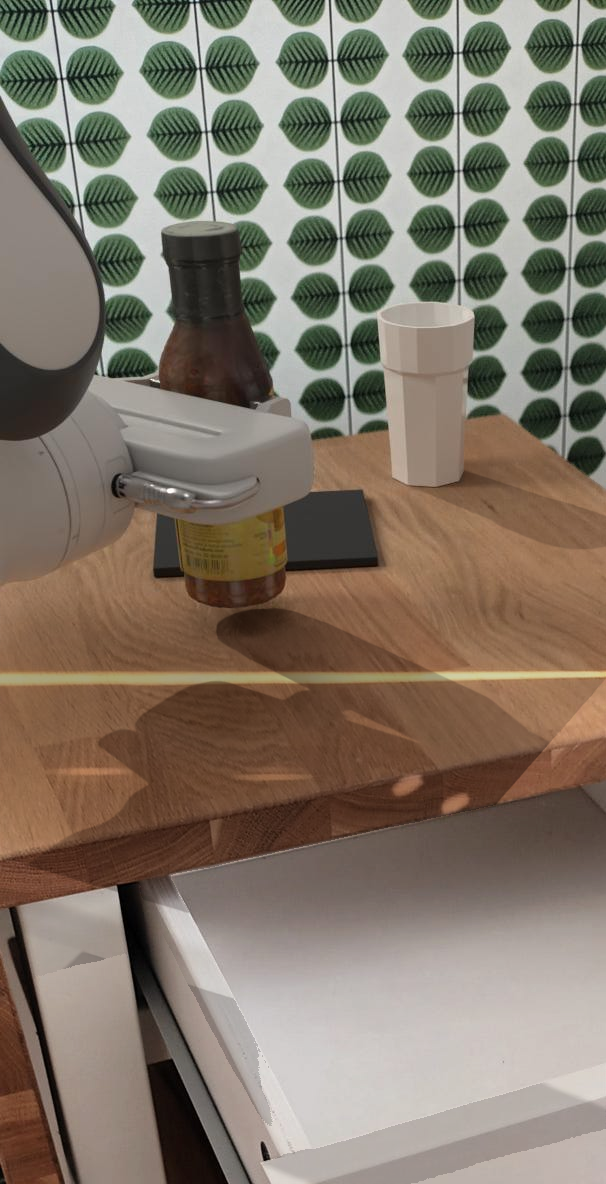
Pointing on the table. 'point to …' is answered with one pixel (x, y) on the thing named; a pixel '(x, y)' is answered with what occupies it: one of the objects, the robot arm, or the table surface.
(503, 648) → the table surface
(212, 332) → the sauce bottle
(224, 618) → the table surface
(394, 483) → the table surface
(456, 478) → the cup
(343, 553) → the mat
